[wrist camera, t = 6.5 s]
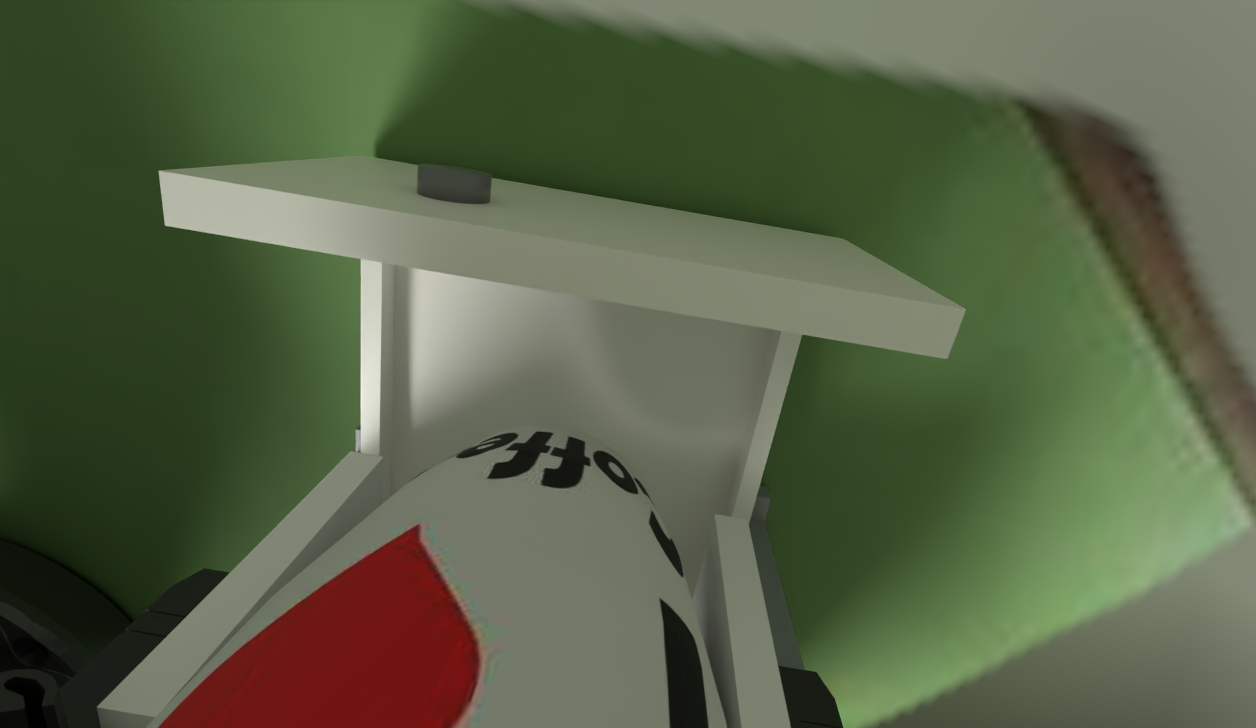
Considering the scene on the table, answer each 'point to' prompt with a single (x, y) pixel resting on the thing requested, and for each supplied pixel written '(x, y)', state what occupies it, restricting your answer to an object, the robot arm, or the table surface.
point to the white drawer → (569, 316)
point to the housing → (769, 580)
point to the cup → (478, 609)
